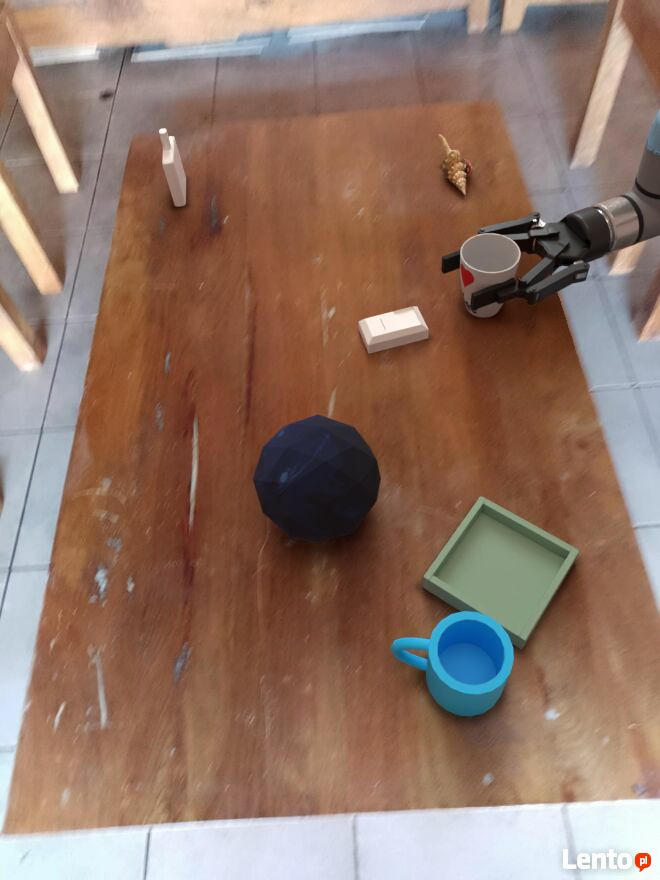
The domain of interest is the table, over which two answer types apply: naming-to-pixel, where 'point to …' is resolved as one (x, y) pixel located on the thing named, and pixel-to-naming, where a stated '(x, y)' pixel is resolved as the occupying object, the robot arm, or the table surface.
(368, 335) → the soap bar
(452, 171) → the spiral snail shell
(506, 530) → the tray
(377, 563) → the table surface
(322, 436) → the decorative orb
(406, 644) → the mug
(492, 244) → the cup
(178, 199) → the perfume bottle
